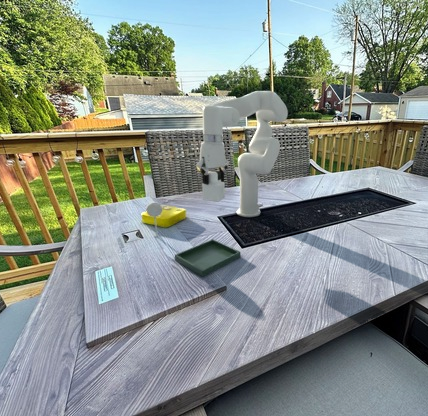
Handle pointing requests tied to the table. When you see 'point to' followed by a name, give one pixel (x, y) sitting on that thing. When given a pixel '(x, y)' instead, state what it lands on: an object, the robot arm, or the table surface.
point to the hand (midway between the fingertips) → (213, 182)
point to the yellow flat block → (165, 216)
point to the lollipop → (154, 211)
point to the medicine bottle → (214, 187)
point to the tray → (207, 257)
